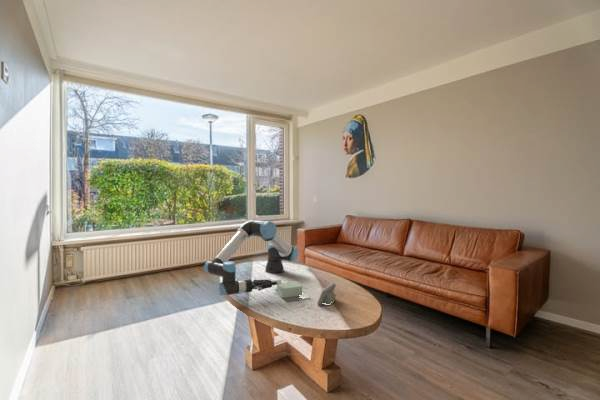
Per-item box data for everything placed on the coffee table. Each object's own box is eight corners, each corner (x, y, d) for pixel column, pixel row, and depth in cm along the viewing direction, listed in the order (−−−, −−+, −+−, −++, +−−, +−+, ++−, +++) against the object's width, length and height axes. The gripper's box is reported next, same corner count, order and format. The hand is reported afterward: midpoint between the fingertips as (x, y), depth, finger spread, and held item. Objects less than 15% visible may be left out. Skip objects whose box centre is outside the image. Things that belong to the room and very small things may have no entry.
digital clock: (328, 296, 186) (329, 280, 186) (340, 300, 180) (340, 284, 180) (312, 304, 174) (313, 287, 174) (324, 308, 168) (325, 291, 168)
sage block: (276, 292, 190) (295, 289, 195) (282, 298, 181) (302, 295, 186) (277, 283, 189) (296, 281, 195) (282, 288, 180) (302, 286, 186)
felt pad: (296, 286, 202) (296, 285, 202) (310, 298, 182) (310, 297, 182) (275, 289, 196) (275, 288, 196) (287, 302, 176) (287, 301, 176)
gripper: (242, 288, 181) (277, 284, 190) (247, 296, 169) (284, 291, 179) (242, 276, 180) (277, 273, 190) (247, 283, 168) (284, 279, 178)
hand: (280, 281), depth 184 cm, fingers closed
